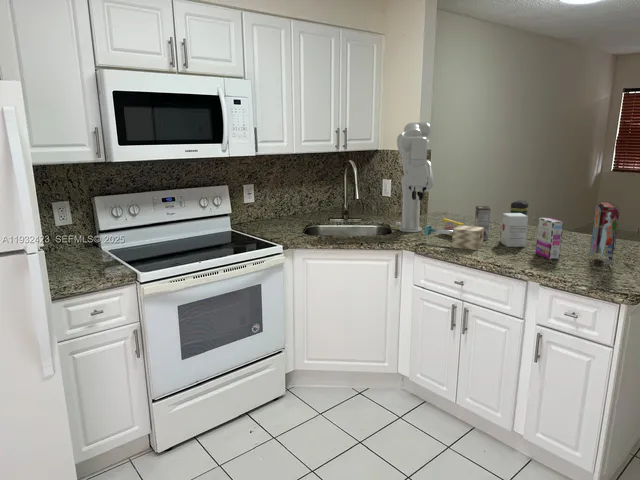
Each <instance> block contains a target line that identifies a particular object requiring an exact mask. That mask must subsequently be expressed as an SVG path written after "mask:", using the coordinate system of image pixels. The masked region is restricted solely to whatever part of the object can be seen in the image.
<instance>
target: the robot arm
mask: <svg viewBox="0 0 640 480" xmlns="http://www.w3.org/2000/svg"><path fill="white" fill-rule="evenodd" d="M431 133H432V129H431V125H430V123H428V122H426V121H425V122H422V121H421V122H409V123H407V124H406V125H405V126H404V128H403V132H402V133H400V134H398V136H397V138H396V146H397V150H398V152H399V155H400V156H401V162H402V170H403V171H402V173H403V174H404V175H403V176H402V178H401V188H402V189H401V191H402V192H401V193H402V216H401V217H402V219H401V221H396V222H395V225H396V226H397V227H399V229H398V230H399V231H400V232H404V233H419V232H421V231H422V230H423V229H422V227H421V226H420V212H421V210H420V209H421V201H422V200H423V199H424V194H425V192H430V191H432V190H433V189H434V186H435V179H434V173H433V172H434V171H433V165H432V162H431V161H430V160H429V159H427V156H428V155H427V153H428V152H427V151H428V148H429V145H430V144H429V142H430V141H429V139H430V138H431ZM417 192H419V193H418V194H417Z"/></svg>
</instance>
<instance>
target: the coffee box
mask: <svg viewBox="0 0 640 480" xmlns="http://www.w3.org/2000/svg"><path fill="white" fill-rule="evenodd" d="M474 215H475V216H474V227H484V235H483V241H484V240H487V241H488V240H489V236H490V234H489V233H490V221H491V220H490V219H491V208H490V207H489V206H488V205H475V214H474Z"/></svg>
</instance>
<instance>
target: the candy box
mask: <svg viewBox="0 0 640 480" xmlns="http://www.w3.org/2000/svg"><path fill="white" fill-rule="evenodd" d="M458 225H463V226H465V224H464V223H463V222H459V221H455V220H452V219H449V218H442V230H451V231H453V228H455V227H457V226H458ZM446 235H447V236H449V237H452V235H450V234H446Z"/></svg>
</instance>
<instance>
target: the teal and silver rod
mask: <svg viewBox="0 0 640 480" xmlns="http://www.w3.org/2000/svg"><path fill="white" fill-rule="evenodd" d="M423 232H424V233H423V234H424V236H430V235H432V233H433V234H442V235H447V234H450V235H453V231H451V230H443V229H438V228H432V225H431V224H426V225H425V226H424V230H423ZM450 235H449V236H450Z"/></svg>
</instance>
